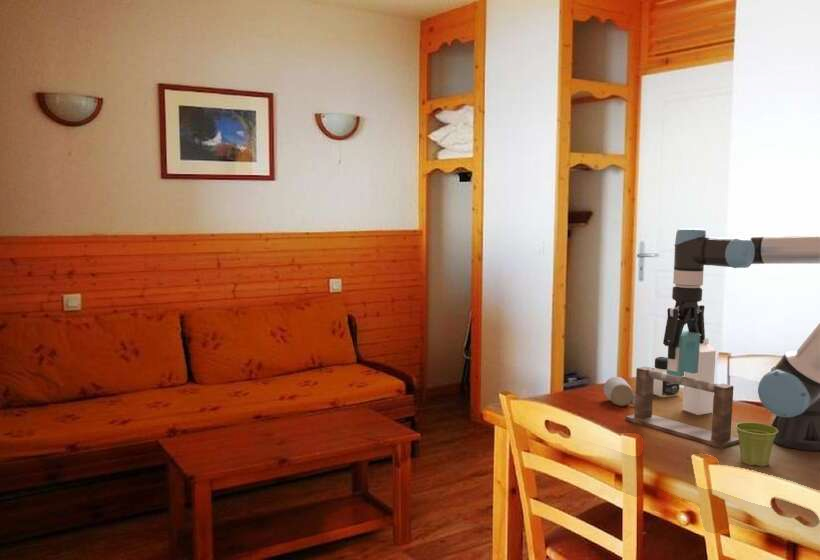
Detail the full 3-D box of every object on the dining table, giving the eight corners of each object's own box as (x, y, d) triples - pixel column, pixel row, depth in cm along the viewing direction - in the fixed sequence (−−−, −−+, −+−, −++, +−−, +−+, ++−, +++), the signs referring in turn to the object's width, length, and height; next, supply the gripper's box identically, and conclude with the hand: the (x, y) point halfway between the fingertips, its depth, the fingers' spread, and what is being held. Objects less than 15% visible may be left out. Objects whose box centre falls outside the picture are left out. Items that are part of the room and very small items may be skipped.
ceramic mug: (610, 407, 229) (611, 382, 228) (602, 399, 237) (604, 376, 236) (644, 408, 229) (646, 383, 228) (636, 400, 237) (637, 376, 236)
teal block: (684, 369, 209) (687, 330, 207) (697, 372, 206) (700, 333, 204) (666, 373, 204) (668, 333, 202) (679, 376, 200) (682, 336, 199)
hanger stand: (739, 442, 197) (743, 386, 195) (722, 448, 192) (726, 390, 190) (642, 415, 221) (645, 364, 219) (625, 419, 216) (627, 368, 214)
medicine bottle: (662, 397, 240) (664, 360, 239) (646, 392, 247) (648, 356, 245) (679, 395, 243) (681, 359, 242) (663, 390, 249) (665, 354, 248)
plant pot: (757, 471, 176) (759, 436, 175) (724, 458, 184) (726, 424, 183) (784, 466, 180) (787, 431, 179) (752, 453, 188) (754, 420, 187)
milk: (682, 410, 226) (685, 338, 224) (696, 407, 229) (700, 336, 227) (698, 415, 221) (701, 341, 219) (712, 412, 224) (716, 340, 221)
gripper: (697, 282, 211) (692, 361, 214) (651, 286, 198) (647, 370, 201) (722, 284, 205) (717, 366, 208) (676, 290, 192) (671, 376, 195)
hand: (682, 368), depth 204 cm, fingers closed on teal block, 8 cm apart
